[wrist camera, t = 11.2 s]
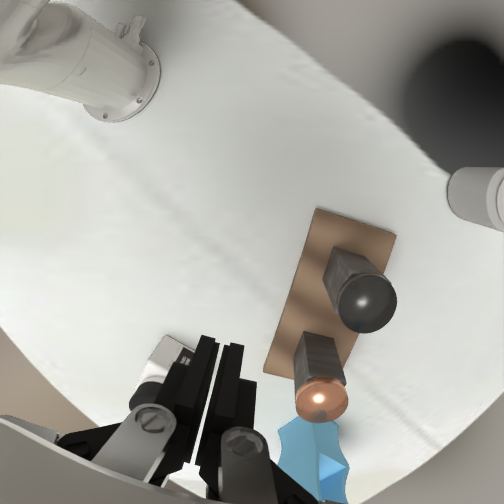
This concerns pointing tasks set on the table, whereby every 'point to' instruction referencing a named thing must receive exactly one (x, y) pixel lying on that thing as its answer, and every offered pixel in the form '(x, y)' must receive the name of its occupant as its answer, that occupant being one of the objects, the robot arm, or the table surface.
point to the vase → (314, 458)
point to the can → (478, 195)
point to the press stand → (324, 298)
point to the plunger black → (366, 302)
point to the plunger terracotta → (321, 400)
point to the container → (158, 370)
